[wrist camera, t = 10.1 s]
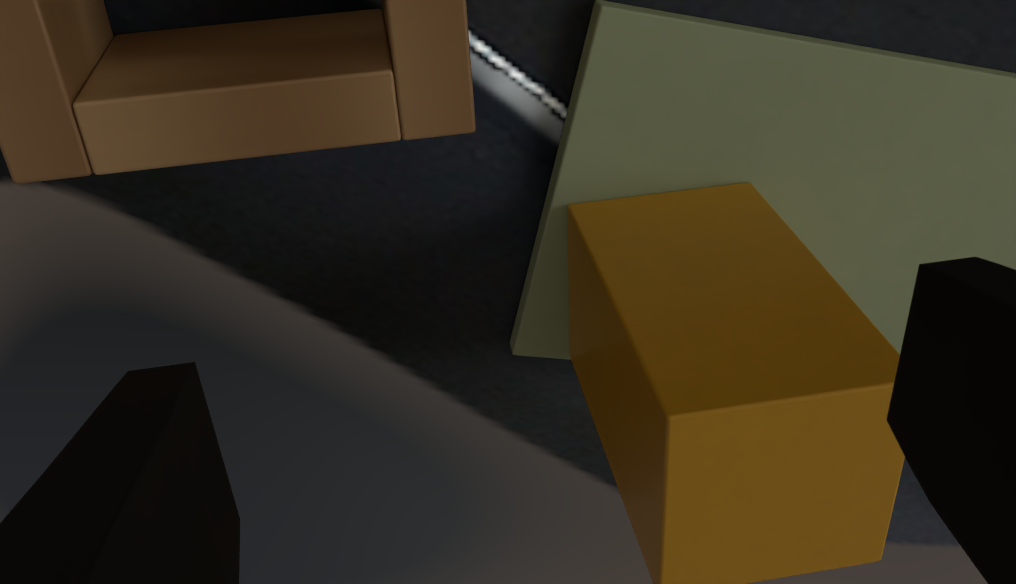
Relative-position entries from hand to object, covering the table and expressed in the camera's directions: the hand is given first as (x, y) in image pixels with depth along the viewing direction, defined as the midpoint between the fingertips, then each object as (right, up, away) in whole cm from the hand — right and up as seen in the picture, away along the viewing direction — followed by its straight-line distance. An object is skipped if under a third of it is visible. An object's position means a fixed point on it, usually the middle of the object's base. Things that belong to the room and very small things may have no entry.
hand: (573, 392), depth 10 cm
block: (+3, +1, +11) cm, 12 cm away
